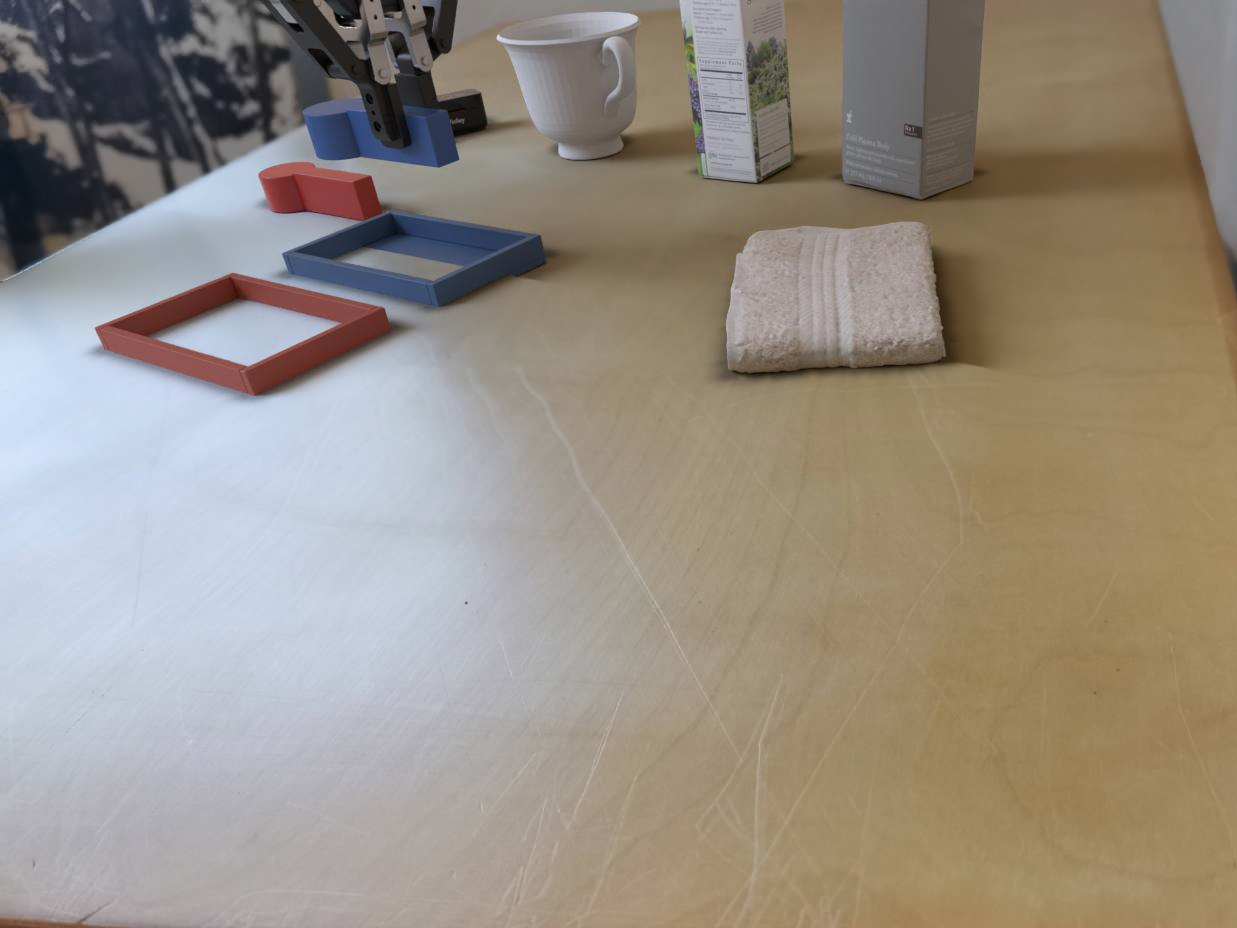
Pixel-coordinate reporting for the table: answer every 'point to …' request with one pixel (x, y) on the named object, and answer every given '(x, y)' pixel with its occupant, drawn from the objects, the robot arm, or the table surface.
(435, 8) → the robot arm
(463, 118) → the black electronic device
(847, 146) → the cosmetic box
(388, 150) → the blue rounded-end block
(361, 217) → the red rounded-end block
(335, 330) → the red frame
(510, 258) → the blue frame
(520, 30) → the teacup
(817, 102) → the table surface
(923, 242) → the washcloth
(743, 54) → the syrup box
